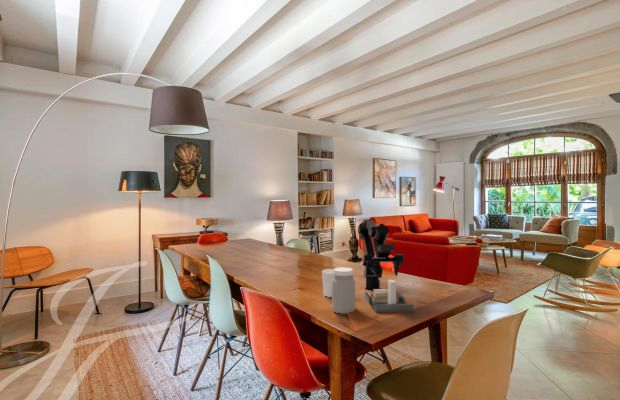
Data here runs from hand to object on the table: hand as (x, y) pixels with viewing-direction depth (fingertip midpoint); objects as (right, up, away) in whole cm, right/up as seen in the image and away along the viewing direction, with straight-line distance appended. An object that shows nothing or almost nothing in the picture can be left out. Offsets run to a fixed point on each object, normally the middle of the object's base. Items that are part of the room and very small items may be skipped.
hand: (386, 275), depth 147 cm
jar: (-20, -14, -7) cm, 25 cm away
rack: (0, -13, -1) cm, 13 cm away
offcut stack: (0, -13, +4) cm, 14 cm away
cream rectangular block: (0, -12, -7) cm, 14 cm away
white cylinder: (-24, -13, +15) cm, 31 cm away
